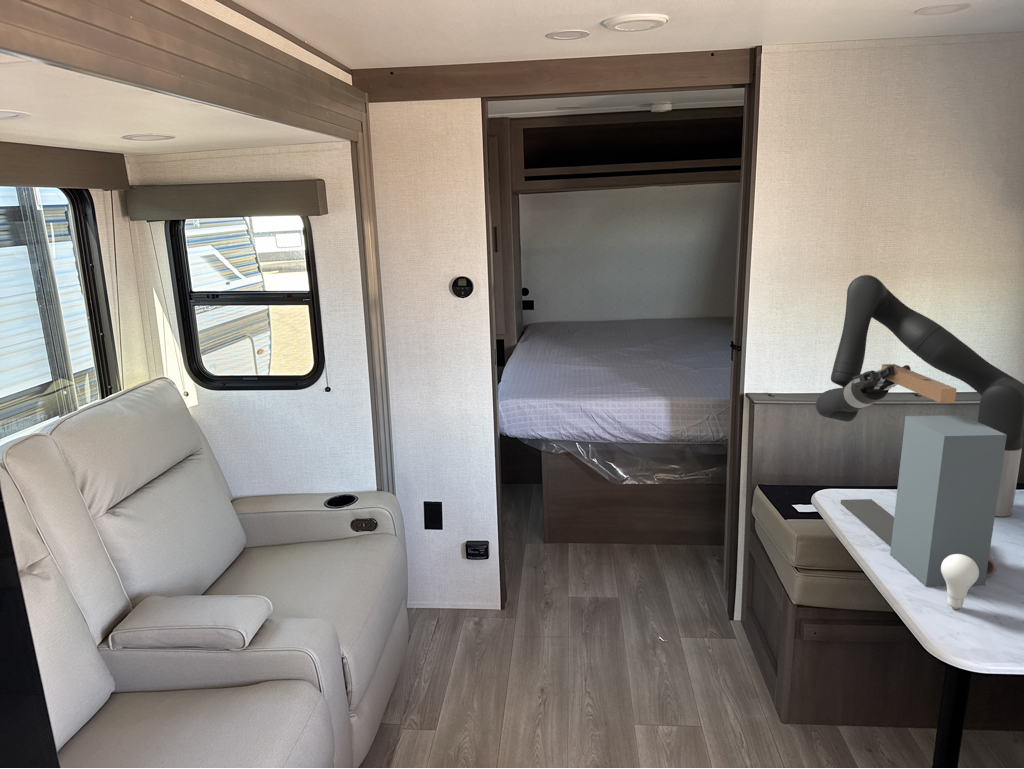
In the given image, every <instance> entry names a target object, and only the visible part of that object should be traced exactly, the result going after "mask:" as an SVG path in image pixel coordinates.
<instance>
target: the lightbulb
mask: <svg viewBox="0 0 1024 769" xmlns="http://www.w3.org/2000/svg"><path fill="white" fill-rule="evenodd" d="M941 572H942V575H943V577H944V579H945V581H946V585H947V586H946V593H947V605H948V606H949V607H951V608H952V609H954V610H957V609H962V608H963V606H964V602H965V599H966V598H967V594H968V591H969V590H970V588H971V587H973V586H972V585H973V584H974V583H975V582H976V580H977V579H978V576H979V569H978V566H977V565H976V563H975V562H974V561H973V560H972V559H971V558H970V557H968V556H965V555H962V554H953V555H950V556H948V557H946V558H945V559H944V560H943V562H942V564H941Z"/></svg>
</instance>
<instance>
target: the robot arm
mask: <svg viewBox="0 0 1024 769" xmlns="http://www.w3.org/2000/svg"><path fill="white" fill-rule="evenodd" d="M845 304H846V305H845V313H844V322H843V326H842V328H843V329H842V332H841V337H840V340H839V344H838V348H837V351H836V355H835V360H834V363H833V367H832V370H831V375H830V381H831V382H832V383H833V384H834V385H837V386H840V387H836V388H832V389H828V390H826V391H823V392H822V393H821V394H820V395H819V396H818V397H817V399H816V403H815V409H816V411H817V413H818V414H819V415H820V416H822V417H825V418H829V419H832V420H838V421H842V422H851V421H853V420H854V419H855V418H856V417H857V415H858V413H859V411H860V410H862V409H863V408H866V407H869V406H872V405H873V404H874V403H877V402H879V401H881V400H883V399H884V398H885V397H886V396H887V395H888V393H889V390H891V389H892V388H894V387H896V386H899V385H898V384H896V383H894V382H891V381H889V380H887V379H888V378H889V377H891V376H893V375H894V374H895V371H894V366H888V367H887V368H885V369H883V370H881V369H879V370H876V371H875V370H868V371H865V372H864V373H862V369H863V365H864V361H865V358H866V357H865V355H866V348H867V337H868V333H869V327H870V323H871V320H872V319H873V320H875V321H876V322H879V323H880V324H881V325H882V326H885V327H886V328H887V329H888V330H890V332H891V333H892V334H893V335H894V336H895V337H896V338H897V339H898V340H899V341H900V342H901V343H902V344H903V345H904V346H905V347H907V349H909V350H910V351H911V352H912V353H914V354H915V355H916V356H917V357H919V359H921V360H922V361H924V362H925V363H926V364H927V365H929V366H931V367H932V368H934V369H936V370H938V371H940V372H942V373H944V374H947V375H949V376H951V377H953V378H955V379H958V380H960V381H962V382H963V383H965V384H966V385H968V386H969V387H971V388H972V389H973V390H974V391H975V392H977V393H978V395H980V396H981V397H980V400H979V407H978V415H977V422H979V423H981V424H984V425H986V426H988V427H990V428H993V429H995V430H997V431H999V432H1002V433H1004V434H1006V435H1007V437H1006V444H1005V451H1004V458H1003V464H1002V471H1001V478H1000V485H999V492H998V499H997V505H996V512H995V517H1001V518H1002V517H1009V516H1012V514H1013V511H1014V510H1013V509H1014V502H1015V495H1016V490H1017V483H1018V476H1019V471H1020V463H1021V458H1022V449H1023V445H1024V444H1023V443H1024V437H1023V432H1022V431H1023V425H1024V383H1023V382H1022V381H1021V380H1019V379H1017V378H1015V377H1013V376H1011V375H1010V374H1008V373H1006V372H1005V371H1003V370H1001V369H999V367H996V366H994V365H993V364H992V363H990V362H988V361H987V360H986V359H985V358H983V356H981V355H979V353H977V352H976V351H975V350H974V349H973V348H972V347H970V346H969V345H967V344H966V343H964V342H963V341H962V340H961V339H959V338H958V337H957V336H955V335H954V334H953V333H951V332H950V331H949V330H947V329H946V328H945V327H943V326H942V325H940V324H939V323H937V322H936V321H934V320H933V319H931V318H930V317H928V316H925V315H923V314H922V313H920V312H917V311H915V310H914V309H912V308H910V307H909V306H907V305H906V304H905V303H903V301H901V299H899V298H898V297H896V296H895V294H894V293H892V292H891V291H890V290H889V289H888V288H887V287H886V286H885V284H884V283H883V282H882V281H881V280H880V279H879V278H877V277H876V276H873V275H869V274H863V275H859V276H857V277H855V278H853V280H852V281H851V282H850V283H849V285H848V287H847V290H846V303H845ZM902 367H903V368H905V369H908V370H911V371H912V369H911V366H910V365H909V364H908V365H907V364H904V365H903V366H902Z"/></svg>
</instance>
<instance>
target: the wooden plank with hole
mask: <svg viewBox="0 0 1024 769" xmlns="http://www.w3.org/2000/svg"><path fill="white" fill-rule="evenodd" d="M888 366H894V371H895V374H894V375H893V376H891V377H889V378H888V379H887V380H889V381H891V382H894V383H896V384H898V385H897V386H901V387H903V388H905V389H908V390H909V391H912V392H914V393H917V394H919V395H921V396H923V397H926V398H927V399H929V400H932V401H935V402H937V403H939V404H954V403H956V397H957V396H956V395H957V388H956V387H953V386H951V385H949V384H946V383H944V382H940V381H938V380H936V379H934V378H931V377H928V376H926V375H923V374H920V373H917V372H915V371H913V370H912V369H911V370H908V369H905V368H903V366H900V365H898V364H895V363H893V364H892V363H887V364H885V363H884V364H883V363H882V364H881V367H880V368H881V369H880V370H883V369H885V368H887V367H888Z"/></svg>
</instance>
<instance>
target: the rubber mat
mask: <svg viewBox="0 0 1024 769" xmlns="http://www.w3.org/2000/svg"><path fill="white" fill-rule="evenodd" d="M840 504H841V506H843V507H844V508H845V509H847V511H849V513H851V514H852V515H853V516H854V517H855V518H856V519H858V520H859V521H860V522H861V523H862V524H864V525H865V526H866V527H867V528H868V529H869V530H870V531H871V532H873V534H875V535H876V536H877V537H878V538H879V539H880V540H882V541H883V542H884V543H885V545H886V544H887V546H888V547H890V548H891V542H892V533H893V524H894V515H892V514H891V513H890V512H889V511H887V510H886V509H884V507H882V506H881V505H880V504H878V503H877V502H876V501H875V500H873V499H872V498H868V499H867V498H865V499H864V498H863V499H860V498H858V499H840Z"/></svg>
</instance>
